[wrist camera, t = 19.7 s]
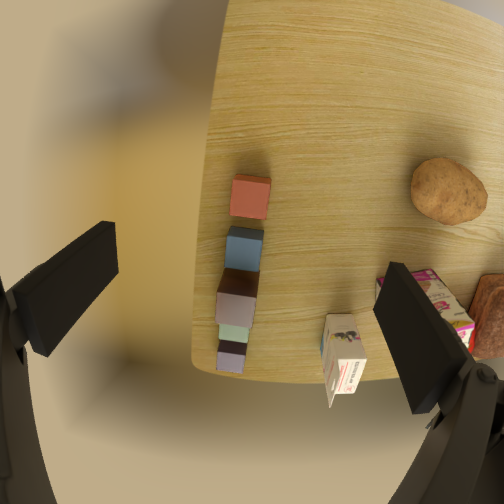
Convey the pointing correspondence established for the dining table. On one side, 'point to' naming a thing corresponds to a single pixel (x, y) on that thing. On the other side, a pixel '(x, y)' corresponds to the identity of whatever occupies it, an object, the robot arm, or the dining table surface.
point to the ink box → (341, 355)
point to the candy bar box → (442, 302)
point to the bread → (489, 317)
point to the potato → (447, 192)
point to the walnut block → (237, 297)
